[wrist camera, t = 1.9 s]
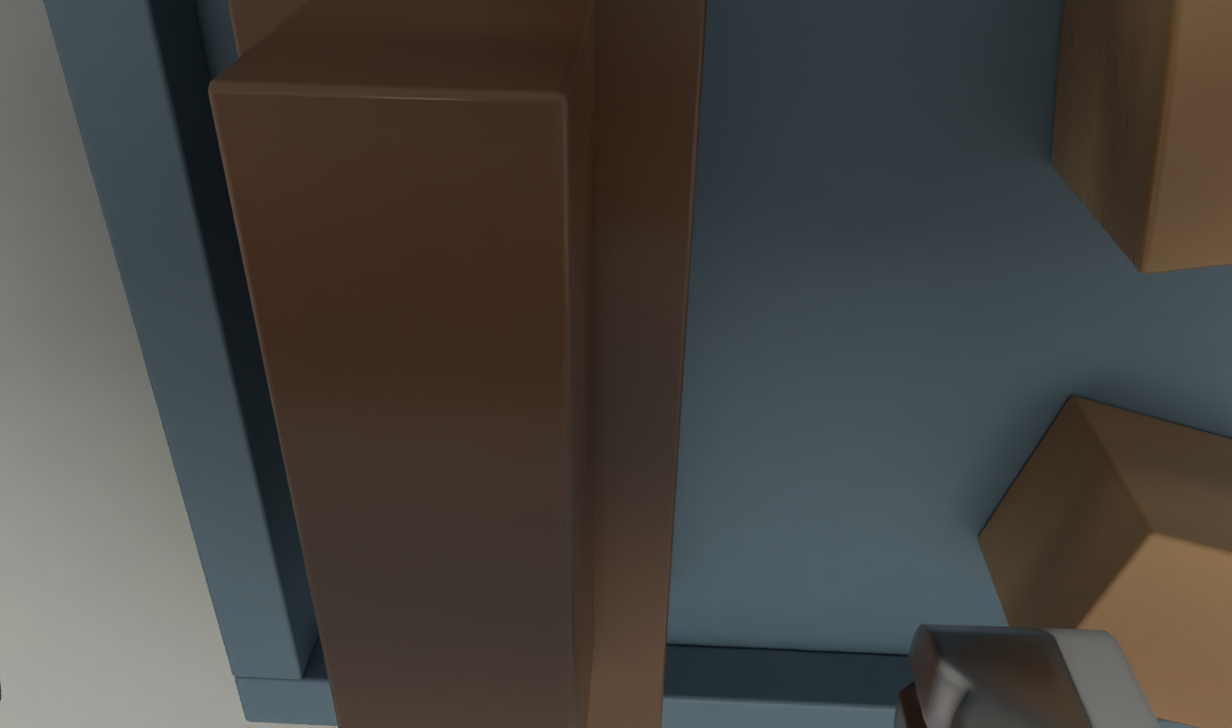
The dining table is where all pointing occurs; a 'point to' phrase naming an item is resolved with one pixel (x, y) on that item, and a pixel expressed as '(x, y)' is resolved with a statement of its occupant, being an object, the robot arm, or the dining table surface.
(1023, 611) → the brown wooden cube
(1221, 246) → the light brown wooden cube
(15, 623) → the dining table surface
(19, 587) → the dining table surface
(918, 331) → the tray
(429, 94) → the brush
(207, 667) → the dining table surface
